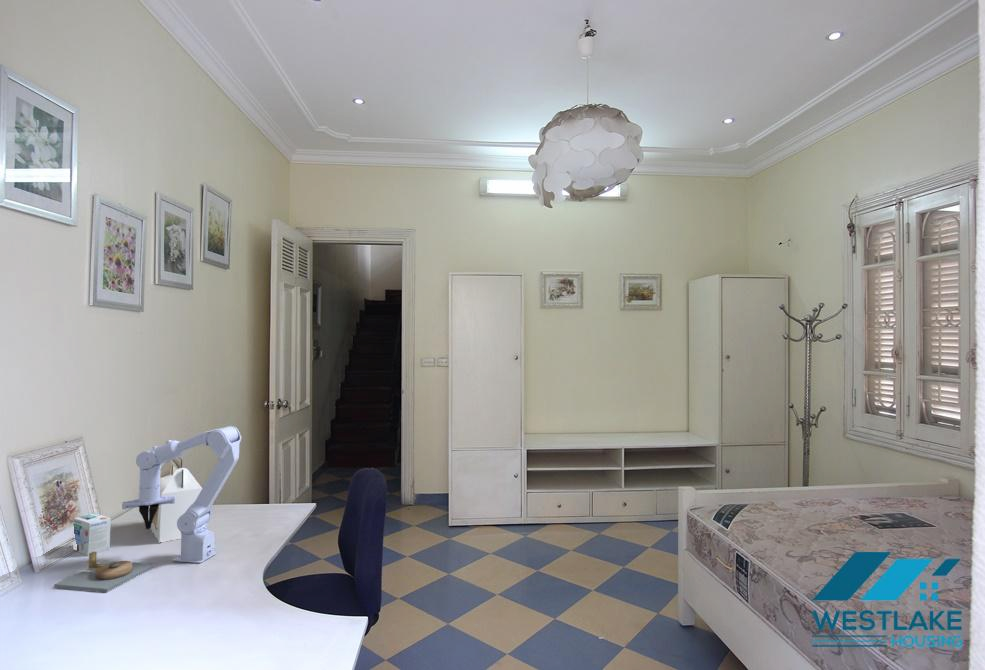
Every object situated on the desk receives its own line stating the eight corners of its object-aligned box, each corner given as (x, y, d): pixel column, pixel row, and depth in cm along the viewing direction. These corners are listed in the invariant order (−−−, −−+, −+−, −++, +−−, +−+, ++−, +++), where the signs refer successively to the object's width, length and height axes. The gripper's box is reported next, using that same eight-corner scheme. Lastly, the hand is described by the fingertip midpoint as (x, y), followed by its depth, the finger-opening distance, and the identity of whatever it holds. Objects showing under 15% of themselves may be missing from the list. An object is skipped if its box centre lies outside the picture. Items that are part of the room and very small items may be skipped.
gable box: (148, 527, 200) (151, 453, 200) (188, 519, 208) (190, 449, 209) (159, 544, 183) (161, 463, 184) (201, 535, 192) (203, 458, 192)
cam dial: (139, 567, 161) (139, 549, 161) (115, 580, 152) (116, 560, 152) (101, 565, 162) (102, 547, 162) (76, 578, 153) (76, 558, 153)
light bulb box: (71, 550, 176) (72, 517, 177) (94, 543, 182) (95, 512, 182) (88, 556, 171) (89, 523, 172) (110, 549, 177) (111, 517, 178)
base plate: (154, 567, 163) (154, 563, 164) (106, 592, 147) (107, 588, 147) (106, 563, 166) (106, 559, 166) (54, 587, 149) (54, 583, 149)
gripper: (121, 492, 165) (119, 535, 165) (175, 486, 172) (173, 528, 172) (124, 486, 171) (122, 528, 171) (175, 481, 178) (174, 521, 178)
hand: (148, 527), depth 172 cm, fingers closed
